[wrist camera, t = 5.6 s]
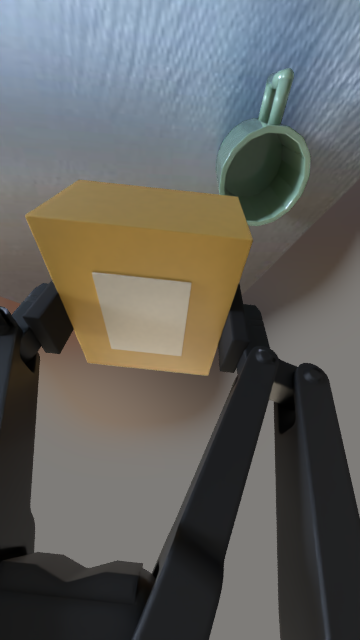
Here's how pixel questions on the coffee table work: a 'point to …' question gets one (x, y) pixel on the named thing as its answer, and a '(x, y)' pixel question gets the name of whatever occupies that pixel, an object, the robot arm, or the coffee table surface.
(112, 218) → the tea packet
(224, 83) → the coffee table surface
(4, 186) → the coffee table surface
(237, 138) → the cup
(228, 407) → the robot arm
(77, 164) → the coffee table surface
